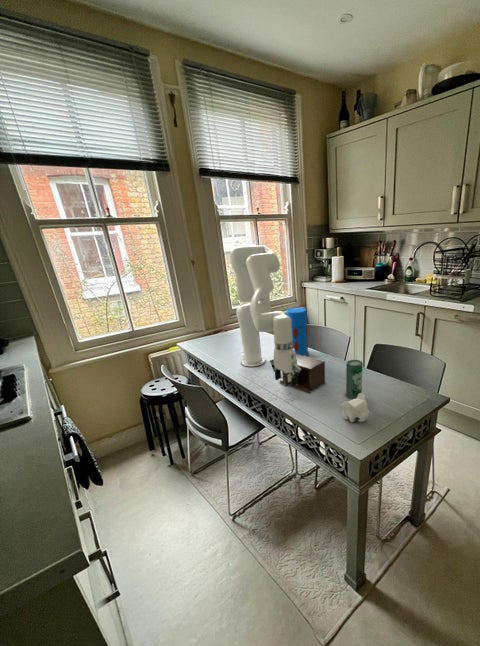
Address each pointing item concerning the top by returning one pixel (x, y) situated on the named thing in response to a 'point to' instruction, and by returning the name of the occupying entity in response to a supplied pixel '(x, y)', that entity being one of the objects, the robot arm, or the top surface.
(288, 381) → the door
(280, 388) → the top surface
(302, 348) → the blue tall cylinder
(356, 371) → the can
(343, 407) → the elephant figurine
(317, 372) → the cabinet
